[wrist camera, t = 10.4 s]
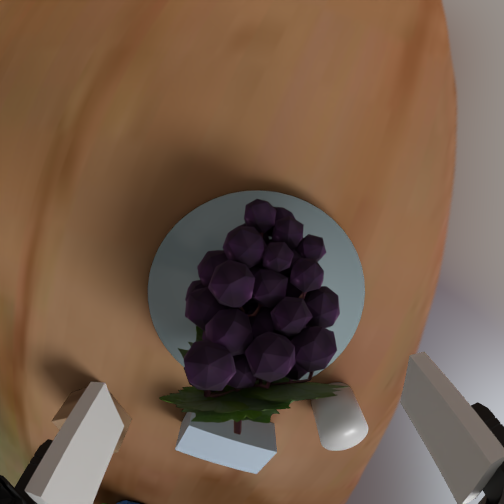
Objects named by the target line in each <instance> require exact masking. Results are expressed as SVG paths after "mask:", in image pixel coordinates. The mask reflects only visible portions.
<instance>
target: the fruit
mask: <svg viewBox="0 0 504 504" xmlns="http://www.w3.org/2000/svg"><path fill="white" fill-rule="evenodd" d="M244 220H245V223H244V224H242V225H240V226H238V227H236V228H235V229H233V230H231V231H230V232H228V234H227V236H226V239H225V242H224V244H223V250H214V251H208V252H207V253H206V254H205V256H204V257H203V259H202V260H201V262H200V263H199V265H198V266H197V269H198V275H199V278H200V280H196V281H192V283H191V284H190V286H189V287H188V290H187V294H186V298H185V301H186V308H185V317H186V318H188V319H189V320H190V321H191V322H193V323H194V324H195V325H197V326H196V332H197V333H196V341H195V342H194V343H192V342H188V343H189V344H190V346H191V347H190V349H189V350H184V349H180V348H178V350H179V351H180V353H181V355H182V357H183V359H184V365H185V367H184V370H185V373H186V376H187V379H188V381H189V384H190V385H192V387H182V388H183V389H184V390H178V391H179V393H177V394H174V393H169V394H170V395H167V396H162V397H160V398H159V399H160V400H163V401H166V402H169V403H173V404H176V405H178V406H176V407H178V408H185V409H184V410H183V411H182V412H192V413H195V414H196V417H195V418H193V419H192V420H191V422H215V423H221V422H226V421H229V420H234V433H235V434H239V435H240V434H241V429H242V421H244V420H251V421H253V422H261V423H270V418H271V415H272V414H280V413H279V412H278V411H277V410H276V409H286V408H290V407H289V404H290V403H292V402H293V401H299V400H305V399H319V398H326V397H332V396H337V395H335V394H334V393H333V392H335V391H341V390H336V389H333V388H345V387H349V386H340V385H329V384H320V383H314V382H307V381H310V380H311V379H312V376H313V373H314V371H318V370H323V369H325V368H326V366H327V365H328V363H329V362H330V360H331V359H332V358H333V356H334V354H335V353H336V351H337V346H336V340H335V335H334V332H333V331H331V330H328V329H326V328H328V327H331V326H333V325H334V323H335V321H336V320H337V318H338V316H339V314H340V308H339V297H338V295H337V294H336V293H335V292H333V291H332V290H331V289H329V288H328V287H327V286H321V285H322V283H323V279H324V270H323V269H322V268H321V266H320V265H319V263H318V261H319V260H320V259H321V258H322V257H323V256H324V255H325V254H326V249H325V245H324V241H323V238H322V237H318V236H314V235H310V234H308V235H307V236H305V237H304V238H303V227H304V224H302V223H301V222H299V221H297V220H296V219H295V217H294V215H293V214H292V212H290V211H289V210H287V209H285V208H283V207H273V206H272V205H271V204H270V203H269V202H268V201H264V200H261V199H256V200H254V201H252V202H250V203H248V204H246V207H245V214H244ZM269 236H270V237H272V239H269ZM308 372H310V373H309V376H308V379H304V380H299V379H301V378H302V377H303V376H304V375H305V374H306V373H308Z"/></svg>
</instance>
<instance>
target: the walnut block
mask: <svg viewBox="0 0 504 504" xmlns="http://www.w3.org/2000/svg"><path fill="white" fill-rule="evenodd" d="M85 390H86V388H85V389H81V390H78V391H74V392H72V393H71V394H70V395H69V397H68V398H67V400H66V401H65V402H64V404H63V405H62V407H61V408H60V410H59V411H58V412H57V414H56V415H55V417H54V418H53V420H52V422H53V423H54V424H55V426H56V427H57V428H58V429H59V430H60V429H61V427H62V426H63V424H64V422H65V421H66V419H67V418H68V416H69V415H70V413H71V411H72V410H73V408H74V407H75V405H76V404H77V402H78V401H79V399H80V397H81V396H82V394H83V393H84V391H85ZM108 391H109V390H108ZM109 393H110V392H109ZM110 396H111V398H112V400H113V403H114V405H115V407H116V409H117V412H118V414H119V416H120V418H121V420H122V422H123V424H124V428H123V430H122V433H121V435H120V437H119V440H118V442H117V444H116V447H115V449H114V452H113V453H116V452H118V451H119V449H120V446H121V444H122V442H123V439H124V437H125V434H126V432H127V430H128V427H129V425H130V423H131V420H132V418H131V417H130V416H129V415H128V414H127V412H126V411H125V410H124V409H123V408H122V406H121V405H120V404H119V403H118V402H117V400H116V399H115V398H114V397H113V395H112V394H111V393H110Z"/></svg>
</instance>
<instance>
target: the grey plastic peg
mask: <svg viewBox="0 0 504 504" xmlns="http://www.w3.org/2000/svg"><path fill="white" fill-rule="evenodd" d="M329 385H340V386H349V385H347V384H345V383H340V382H335V383H330V384H329ZM333 389H336V390H341V391H335V392H333V393H334V394H335V395H337V396H332V397H326V398H319V399H312V400H311V405H312V409H313V413H314V417H315V421H316V425H317V429H318V433H319V437H320V441H321V444H322V446H323V447H324V448H326V449H328V450H333V451H339V450H345V449H348V448H351V447H353V446H355V445H357V444H358V443H360V442H361V441H362V440H363V439H364V438H365V436H366V435H367V433H368V425H367V423H366V421H365V418H364V416H363V414H362V411H361V409H360V407H359V404H358V402H357V400H356V398H355V395H354V393H353V391H352V389H351V387H350V386H349V387H345V388H333Z"/></svg>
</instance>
